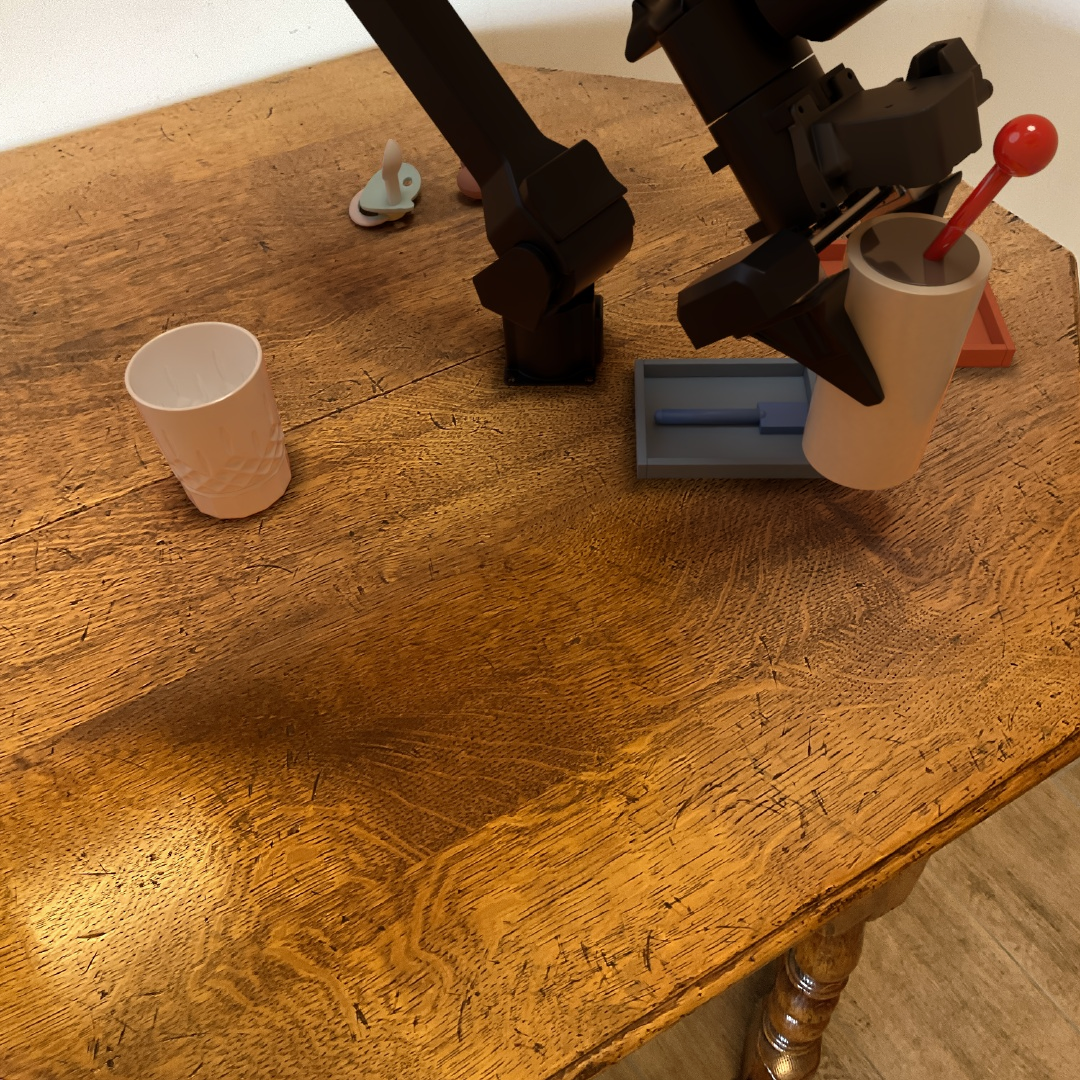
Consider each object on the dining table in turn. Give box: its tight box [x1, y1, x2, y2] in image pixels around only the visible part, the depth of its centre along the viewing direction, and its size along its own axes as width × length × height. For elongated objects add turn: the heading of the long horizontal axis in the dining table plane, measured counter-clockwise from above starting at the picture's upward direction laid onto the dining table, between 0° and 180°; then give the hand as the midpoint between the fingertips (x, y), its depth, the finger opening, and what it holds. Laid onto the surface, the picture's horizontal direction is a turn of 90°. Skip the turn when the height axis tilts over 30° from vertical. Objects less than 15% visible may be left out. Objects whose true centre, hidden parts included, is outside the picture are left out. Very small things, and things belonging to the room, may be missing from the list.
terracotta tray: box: [818, 238, 1017, 368], centre depth 73 cm, size 13×13×2 cm
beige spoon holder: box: [802, 113, 1059, 491], centre depth 49 cm, size 8×7×20 cm
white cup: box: [124, 321, 292, 520], centre depth 62 cm, size 8×8×10 cm
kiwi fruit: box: [456, 159, 482, 200], centre depth 86 cm, size 6×5×3 cm
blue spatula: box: [654, 402, 808, 434], centre depth 66 cm, size 10×2×1 cm, turn 87°
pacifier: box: [348, 138, 422, 227], centre depth 83 cm, size 7×6×6 cm
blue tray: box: [633, 357, 827, 479], centre depth 66 cm, size 12×10×2 cm
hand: (911, 368), depth 51 cm, fingers closed on beige spoon holder, 6 cm apart
